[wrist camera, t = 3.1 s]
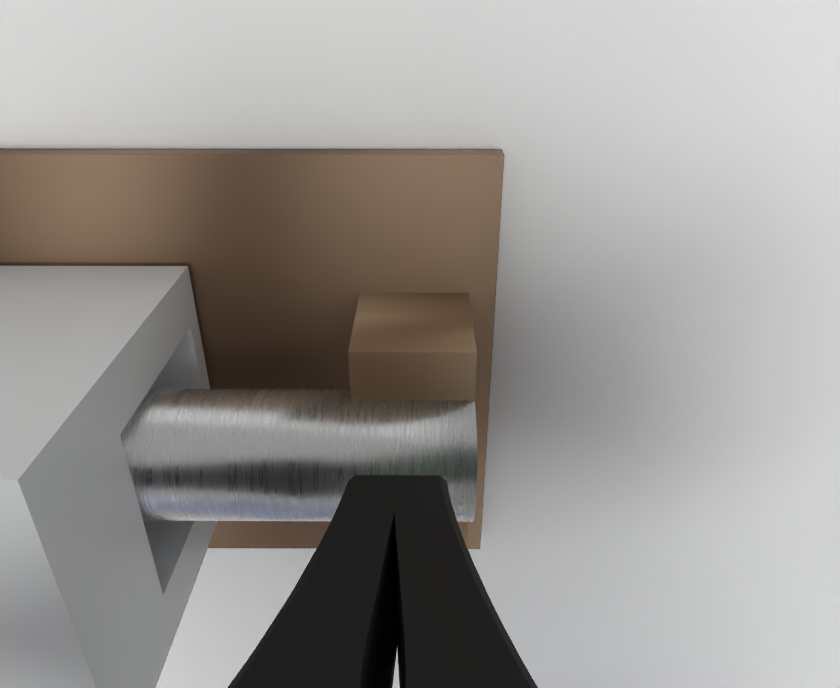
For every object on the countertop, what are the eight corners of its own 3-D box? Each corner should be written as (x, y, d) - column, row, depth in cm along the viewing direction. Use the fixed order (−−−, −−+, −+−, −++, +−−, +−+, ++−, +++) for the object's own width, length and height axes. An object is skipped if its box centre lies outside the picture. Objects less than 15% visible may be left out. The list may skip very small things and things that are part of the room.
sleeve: (187, 266, 12) (17, 480, 7) (228, 490, 14) (126, 766, 9) (-94, 265, 12) (-469, 478, 7) (-4, 490, 14) (-230, 765, 9)
